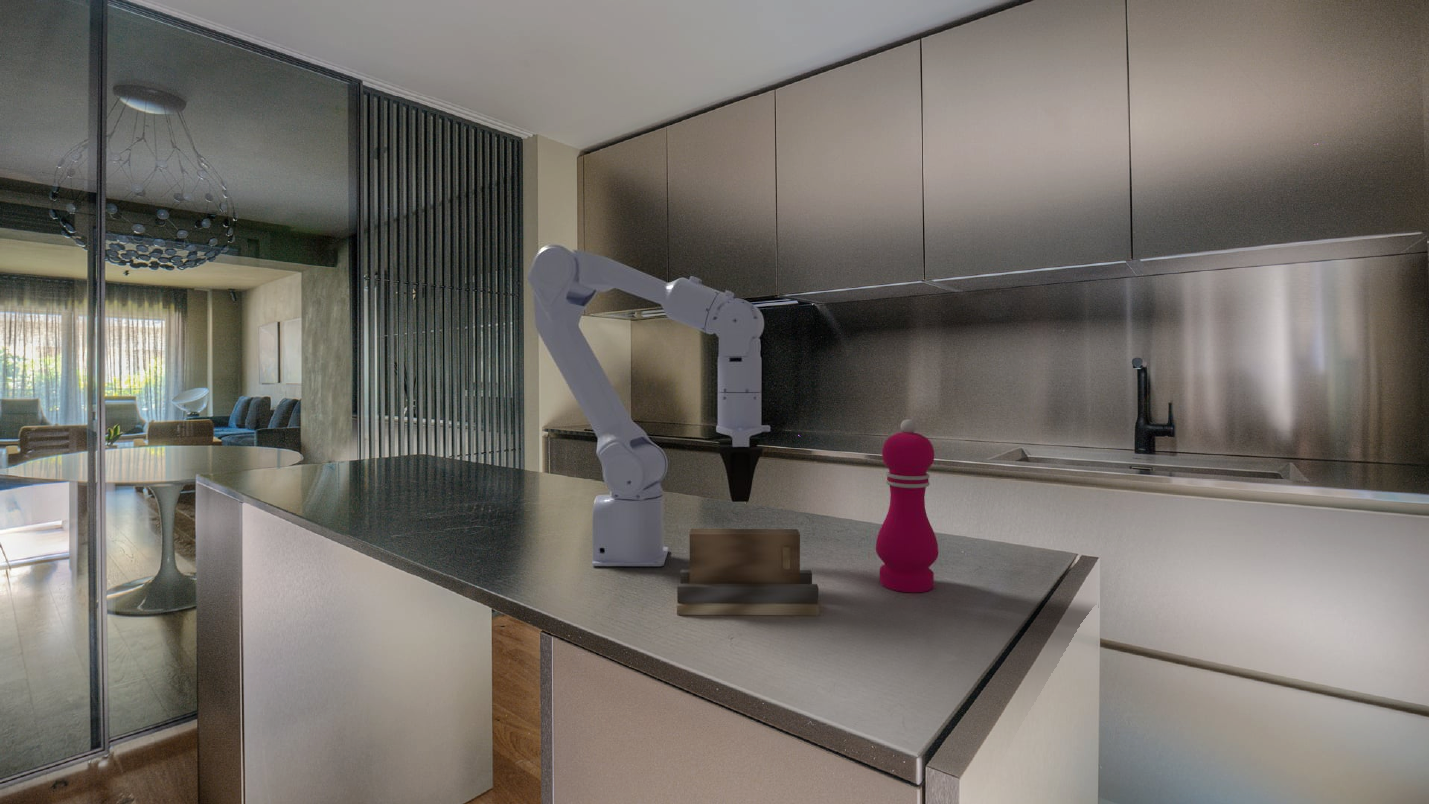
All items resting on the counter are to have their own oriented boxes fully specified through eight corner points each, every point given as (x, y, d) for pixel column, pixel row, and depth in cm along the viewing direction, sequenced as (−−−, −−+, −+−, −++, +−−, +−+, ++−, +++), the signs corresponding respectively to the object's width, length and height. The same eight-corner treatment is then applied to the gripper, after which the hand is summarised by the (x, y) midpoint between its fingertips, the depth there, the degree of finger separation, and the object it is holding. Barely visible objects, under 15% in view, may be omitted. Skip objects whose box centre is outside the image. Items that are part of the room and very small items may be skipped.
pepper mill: (942, 596, 72) (944, 422, 71) (876, 592, 74) (878, 421, 73) (933, 576, 79) (935, 417, 78) (873, 573, 81) (875, 416, 80)
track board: (676, 614, 67) (676, 588, 67) (681, 591, 74) (681, 568, 74) (819, 615, 67) (819, 589, 66) (810, 592, 74) (810, 568, 73)
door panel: (689, 598, 69) (689, 535, 68) (690, 590, 72) (690, 528, 71) (800, 599, 69) (800, 535, 68) (797, 590, 71) (797, 529, 71)
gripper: (774, 394, 75) (774, 507, 76) (766, 390, 90) (766, 485, 90) (715, 394, 75) (715, 507, 76) (716, 390, 90) (716, 485, 91)
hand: (739, 495), depth 83 cm, fingers open, 7 cm apart
